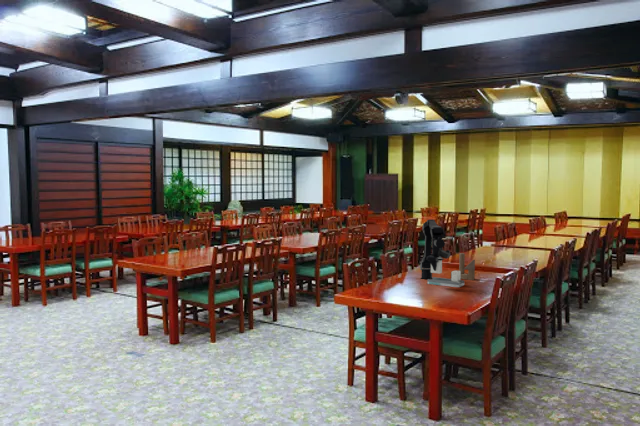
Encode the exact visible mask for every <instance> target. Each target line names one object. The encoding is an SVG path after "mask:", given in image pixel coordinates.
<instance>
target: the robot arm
mask: <svg viewBox="0 0 640 426" xmlns="http://www.w3.org/2000/svg"><path fill="white" fill-rule="evenodd" d="M421 228H422V229H421V230H422V233H423V234H424V252H423V253H424V255H423V257H421V261H420V266H419V270H420V271H421V277H420V279H422V280H427V279H432V280H433V273H431V265H432V267H433V269H434V271H436V267H437V262H438V261H439V260H442V261H443V260H445V259H446V260H448V259H450V256H451V251H450V250H449V249H447V250H444V247H445V245H446V242H445V240H444V239H445V236H446V233H445V231H444V228H443V227H442V226H440V225H438V223H437V221H436V220H435V219H427V220H426V221H425V222H423V224H422V227H421Z"/></svg>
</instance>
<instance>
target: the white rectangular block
mask: <svg viewBox="0 0 640 426" xmlns="http://www.w3.org/2000/svg"><path fill="white" fill-rule="evenodd" d="M431 273H432V274H442V273H443V260H439V261H438V262H437V267H436V271H434V269H433V267H432V265H431Z"/></svg>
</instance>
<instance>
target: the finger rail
mask: <svg viewBox="0 0 640 426" xmlns="http://www.w3.org/2000/svg"><path fill="white" fill-rule="evenodd" d="M460 276H461V271H459V270H452V271H451V272H450V278H447V277H435V276H432V279H426V281H427V283H426V284H427V285H435V286H436V285H437V286H445V287H452V288H461V287H463V286H465V279H460Z"/></svg>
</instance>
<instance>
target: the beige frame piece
mask: <svg viewBox="0 0 640 426" xmlns="http://www.w3.org/2000/svg"><path fill="white" fill-rule="evenodd" d="M465 256H466V253H464V252H459V259H458V260H459V267H458V271H461V276H460V280H469V281H474V280H475V277H476V276H475V273H476V272H475V270H476V260H475V259H472V260H471V261H470V262H469V263H468V264H467V265H466V266H465V263H466V262H465V261H466V259H465V258H466V257H465ZM465 270H467V273H465Z"/></svg>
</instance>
